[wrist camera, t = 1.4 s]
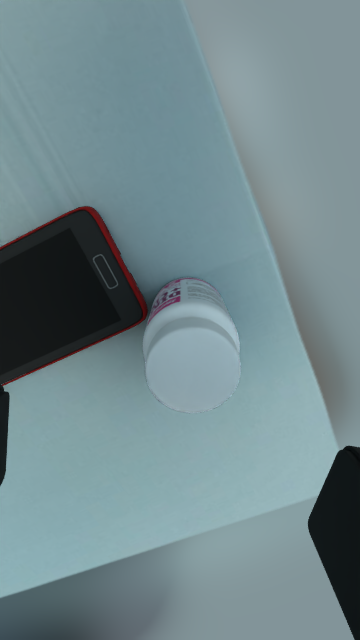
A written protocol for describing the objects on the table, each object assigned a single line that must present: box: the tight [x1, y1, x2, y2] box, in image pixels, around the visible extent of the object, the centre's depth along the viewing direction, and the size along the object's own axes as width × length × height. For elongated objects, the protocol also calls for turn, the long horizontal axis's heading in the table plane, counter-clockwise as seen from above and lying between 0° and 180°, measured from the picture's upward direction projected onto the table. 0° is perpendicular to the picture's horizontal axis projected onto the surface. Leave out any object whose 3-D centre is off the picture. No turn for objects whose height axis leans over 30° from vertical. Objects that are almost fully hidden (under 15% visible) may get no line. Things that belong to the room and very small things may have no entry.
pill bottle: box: [143, 277, 241, 413], centre depth 17 cm, size 5×5×8 cm
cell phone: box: [0, 206, 148, 386], centre depth 20 cm, size 8×15×1 cm, turn 115°
